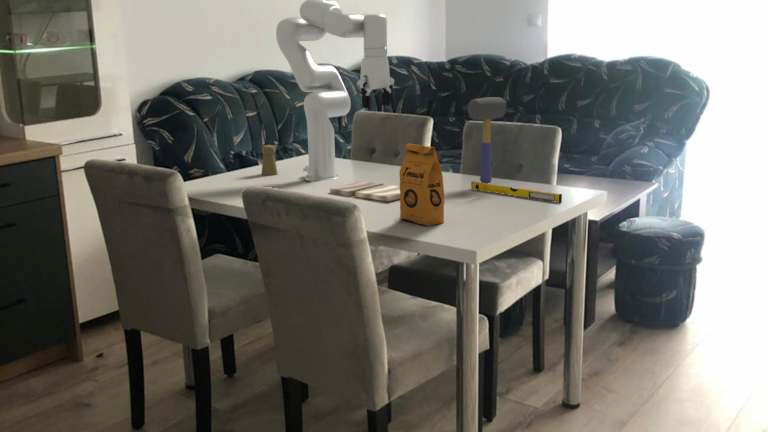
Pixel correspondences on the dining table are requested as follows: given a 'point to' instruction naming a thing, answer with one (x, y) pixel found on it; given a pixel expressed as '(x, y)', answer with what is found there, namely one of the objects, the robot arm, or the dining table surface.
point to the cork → (269, 161)
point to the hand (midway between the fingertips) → (376, 106)
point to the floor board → (358, 186)
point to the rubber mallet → (486, 128)
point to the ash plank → (380, 193)
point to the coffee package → (421, 186)
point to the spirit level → (517, 191)
